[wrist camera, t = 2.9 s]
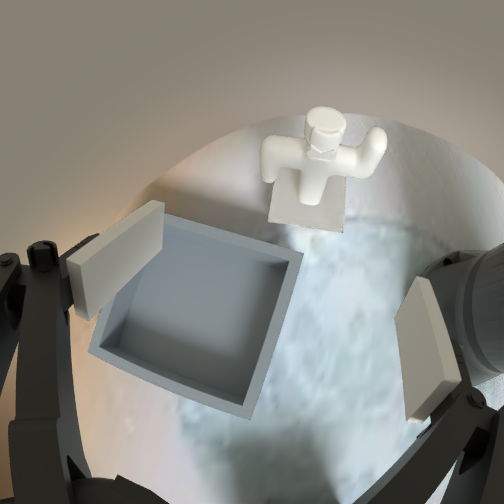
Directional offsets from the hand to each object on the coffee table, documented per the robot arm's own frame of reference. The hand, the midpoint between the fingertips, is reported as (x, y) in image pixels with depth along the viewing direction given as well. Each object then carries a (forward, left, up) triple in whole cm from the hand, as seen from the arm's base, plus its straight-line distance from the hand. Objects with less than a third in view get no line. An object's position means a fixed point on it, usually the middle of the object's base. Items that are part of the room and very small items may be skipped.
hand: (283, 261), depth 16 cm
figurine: (0, -11, -17) cm, 20 cm away
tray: (+7, +3, -17) cm, 18 cm away
